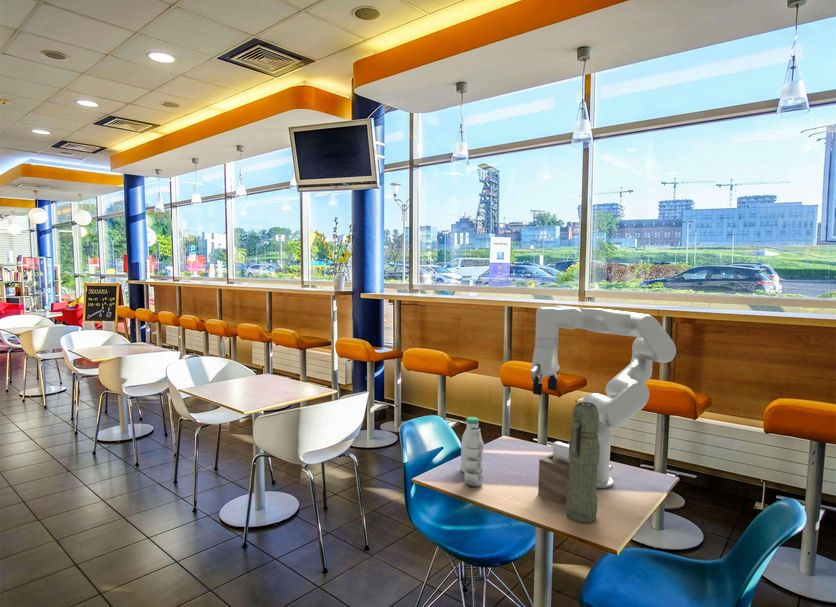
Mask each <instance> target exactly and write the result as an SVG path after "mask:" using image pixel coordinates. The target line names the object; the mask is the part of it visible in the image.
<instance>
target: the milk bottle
mask: <svg viewBox="0 0 836 607" xmlns="http://www.w3.org/2000/svg"><path fill="white" fill-rule="evenodd" d="M465 422H466V423H465V424H466V428H465V430H464V432H463V434H462V437H461V450H460V470H461V472H462V473H464V474H465V471H466V449H465V441H466V439H467V438H468V437H469V435H470V434H469V432H470V428H471V427H478V428H479V422H480V420H479V417H477V416H468V417H466V418H465ZM480 437H481V438H482V435H481V434H480Z"/></svg>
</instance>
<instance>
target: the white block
mask: <svg viewBox="0 0 836 607" xmlns="http://www.w3.org/2000/svg"><path fill="white" fill-rule="evenodd" d="M552 446H553V447H552V454H553V460H554V461H557V462H560V463H563V464H566V465H569V464H570V460H569V443H565V442H562V441H555V442H553V445H552Z"/></svg>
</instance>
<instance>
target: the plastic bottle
mask: <svg viewBox="0 0 836 607" xmlns="http://www.w3.org/2000/svg"><path fill="white" fill-rule="evenodd" d="M469 434H470V435H469V437H468V438H467V439H466V441H465V449H466V471H465V473H464V475H463V479H464V483H465V484H466V485H467V486H469V487H480V486H482V485H483V482H484V472H483V454H484V447H485V443H484V442H485V441H483V437H482V436H481V437H480V435H481V428H480V427H479V426H478V427H471V428H470V432H469Z"/></svg>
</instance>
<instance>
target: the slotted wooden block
mask: <svg viewBox="0 0 836 607" xmlns="http://www.w3.org/2000/svg"><path fill="white" fill-rule="evenodd" d="M538 460H539V463H538V482H537V483H538V489H537V490H538V491H537V494H538V496H541V497H544V498H547V499H550V500H551V501H555V502H556V503H559V504H562V505H567V493H568V490H569V477H570V464H569V465H566V464H563V463H560V462H557V461H554V460H553V453H551V454H549V455H546V456H544V457H542V458H539V459H538Z"/></svg>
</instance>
